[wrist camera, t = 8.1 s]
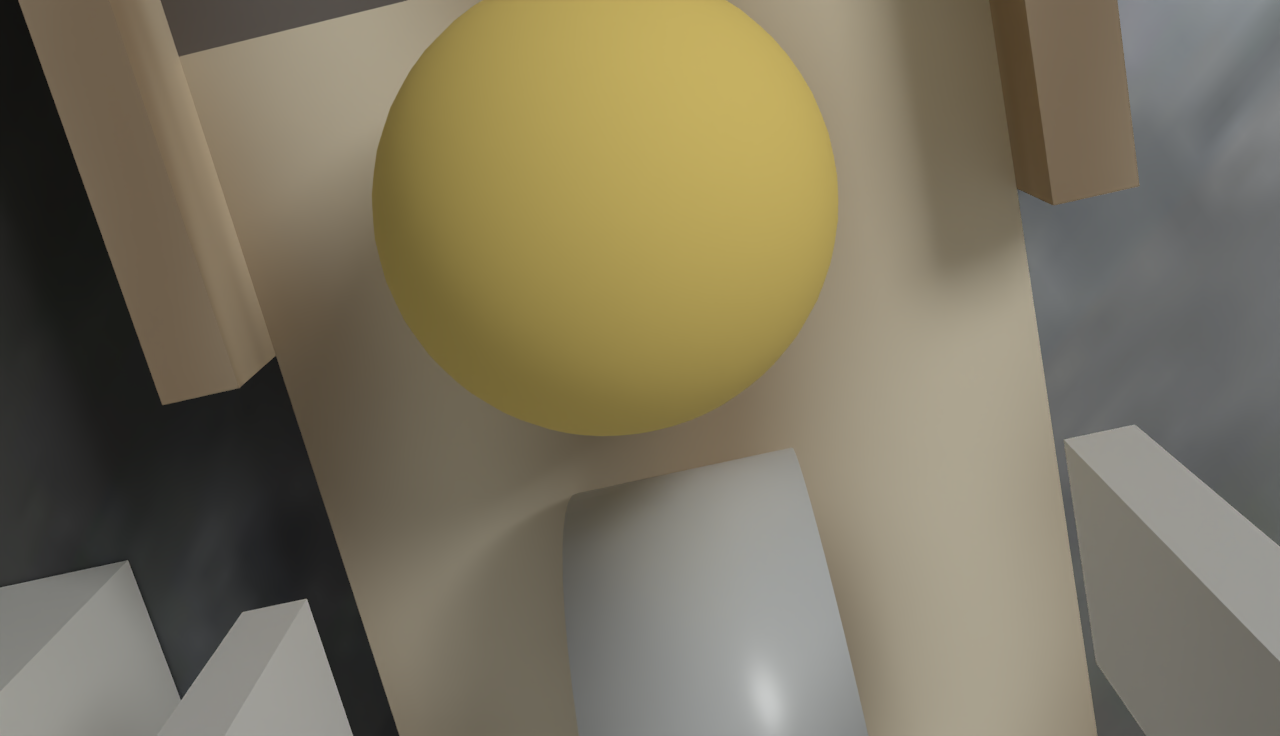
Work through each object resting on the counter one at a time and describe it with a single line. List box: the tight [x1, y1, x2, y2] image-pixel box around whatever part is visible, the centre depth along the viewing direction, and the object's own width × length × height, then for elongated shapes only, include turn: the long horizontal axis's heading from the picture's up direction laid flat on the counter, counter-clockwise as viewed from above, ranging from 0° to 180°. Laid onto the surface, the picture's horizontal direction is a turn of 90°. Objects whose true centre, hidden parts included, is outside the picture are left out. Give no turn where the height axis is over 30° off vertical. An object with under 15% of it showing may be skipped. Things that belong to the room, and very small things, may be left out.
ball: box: [372, 0, 838, 436], centre depth 13 cm, size 5×5×5 cm
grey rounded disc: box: [562, 448, 868, 736], centre depth 16 cm, size 3×7×7 cm, turn 13°
